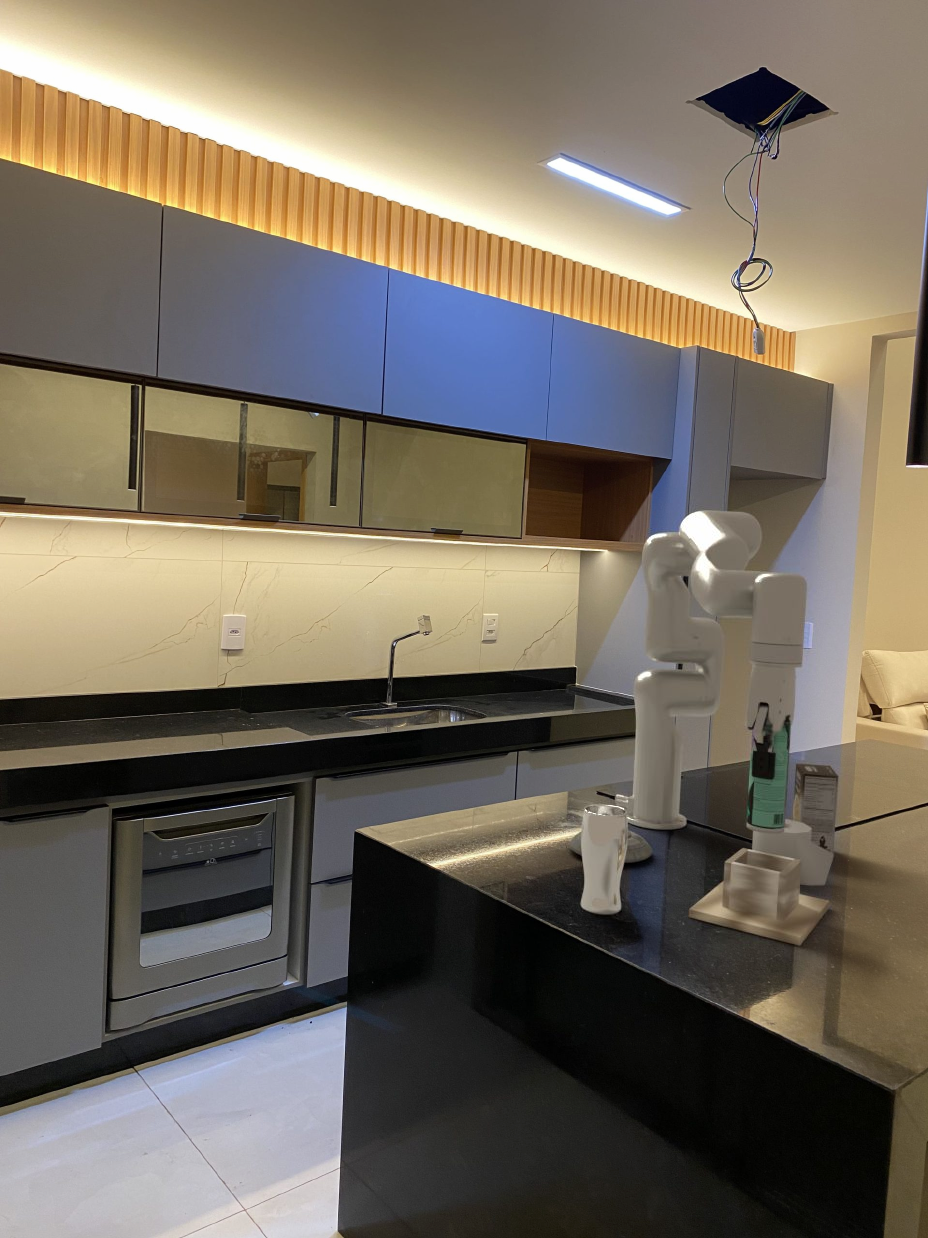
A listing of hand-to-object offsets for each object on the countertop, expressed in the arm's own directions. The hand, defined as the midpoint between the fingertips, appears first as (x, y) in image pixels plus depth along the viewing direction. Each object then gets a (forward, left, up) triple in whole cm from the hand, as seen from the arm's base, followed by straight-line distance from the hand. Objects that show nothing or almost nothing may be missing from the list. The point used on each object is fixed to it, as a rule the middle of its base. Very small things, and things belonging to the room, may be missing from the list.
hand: (768, 773), depth 136 cm
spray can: (0, 0, -9) cm, 9 cm away
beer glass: (-20, -14, -22) cm, 33 cm away
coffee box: (-1, +37, -22) cm, 43 cm away
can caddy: (0, 0, -21) cm, 21 cm away
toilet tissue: (-1, +21, -22) cm, 30 cm away
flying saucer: (-30, +11, -22) cm, 39 cm away
